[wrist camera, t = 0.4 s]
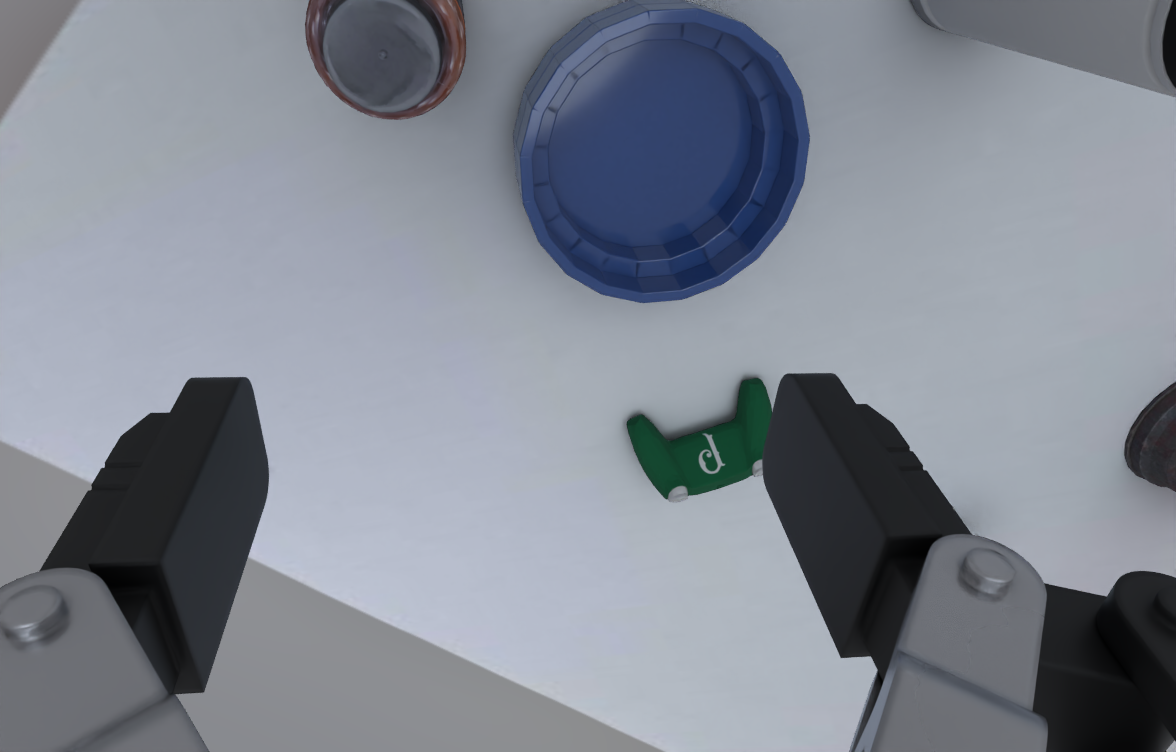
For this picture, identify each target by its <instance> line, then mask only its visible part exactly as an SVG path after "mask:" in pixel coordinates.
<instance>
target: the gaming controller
mask: <svg viewBox="0 0 1176 752" xmlns="http://www.w3.org/2000/svg"><path fill="white" fill-rule="evenodd" d="M771 416H772V408H771V404H770V400H769V397H768V393H767V390H766V387H765V386H764V384H763V382H762V380H761V379H759V378H754V379H750V380H744V381H743V382H742V383H741V387H740V390H739V396H738V404H737V413H736V416H735V418H734V419H733V420H732V421H730V422H727V423H723V424H720V425H717V426H715V427H712V428H709V429H706V430H703V431H699V432H696V433H694V434H690V435H687V436H683V437H680V438H678V439H676V440H666V439H665V438H664V437H663V436H662V434H661V433H660V432H659V431H658V429H657V428H656V427H655V426H654V425H653V423H652V422H650V421H649V420H648V419H647V418H646V417H645V416H644V415H642V414H641V415H639V416H636V417H634V418H632V419H630V420H629V421H627V428H628V433H629V436H630V439H631V442H632V445H633V448H634V451H635V453H636V456H637V458H638V460H639V462H640V464H641V466H642V468H643V470H644V472H645V473H646V475H647V476H648V478H649V479H650V481H651V482H652V484H653V485H654V486H655V488H656V489H657V490H658V491H659V492H660V493H661V495H662V496H663V497H664V498H665V499H668V500H669V502H681V501H683V500H686V499H688V496H689V495H698V494H702V493H705V492H709V491H712V490H716V489H719V488H722V487H725V486H728V485H730V484H733V483H736V482H739V481H741V480H744V479H746V478H748V477H749V476H752V475H754V477H756V476H760V475H763V470H762V456H763V449H764V445H765V441H766V437H767V433H768V428H769V424H770V420H771Z"/></svg>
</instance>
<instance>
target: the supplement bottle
mask: <svg viewBox="0 0 1176 752" xmlns="http://www.w3.org/2000/svg"><path fill="white" fill-rule="evenodd" d="M305 29H306V40H307V46H308V50H309V53H310V56H311V59H312V61H313V63H314V66H315V68H316V70H317V72H318V73H319V75H320V77H321V78H322V79H323V81H324V83H325V84H326V85H327V86H328V87H329V88H330V89H331V91H332V92H333V93H334V94H335V95H336V96H338V97H339V98H340V99H341V100H342V101H343V102H345V103H346V104H348V105H349V106H351V107H352V108H354V109H356V110H358V111H360V112H363V113H365V114H367V115H369V116H373V117H377V118H382V119H395V120H398V119H408V118H412V117H415V116H419V115H422V114H424V113H426V112H428V111H430V110H431V109H433V108H435V107H436V106H437V105H438V104H440V103H441V102H442V101H443V100H444V99H445V98H446V97H447V96H448V95H449V94H450V92H451V91H452V89H453V88H454V86H455V85H456V83H457V81H458V79H459V77H460V75H461V73H462V69H463V66H464V62H465V57H466V36H465V22H464V14H463V6H462V0H309V3H308V8H307V12H306V23H305Z"/></svg>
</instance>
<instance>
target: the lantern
mask: <svg viewBox="0 0 1176 752" xmlns="http://www.w3.org/2000/svg"><path fill="white" fill-rule="evenodd" d="M1125 458H1126V461H1127V464H1128V467H1129V468H1130V469H1131V470H1132V471H1133V472H1134V473H1135V474H1136V475H1137V476H1139V477H1141V478H1143V479H1146V480H1147V481H1149V482H1150V483H1153V484H1155V485H1157V486H1160V487H1168V488H1170V489H1172V490H1173V491H1175V492H1176V383H1175V384H1173V385H1172V386H1170V387H1169V388H1168V389H1167V390H1165V391H1164V392H1163V393H1161V394H1160V395H1159V396H1158V397H1156V398H1155V399H1154V400H1153V401H1152V402H1151V404H1150V405H1149V406H1148V407H1147V408H1146V409H1145V410H1144V411H1143V412H1142V413H1141V415H1140V416H1139V418H1138V419H1137V421H1136V422H1135V424H1134V425H1133V427H1132V429H1131V431H1130V434H1129V436H1128V439H1127V441H1126V449H1125Z"/></svg>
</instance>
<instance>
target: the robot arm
mask: <svg viewBox="0 0 1176 752" xmlns="http://www.w3.org/2000/svg"><path fill="white" fill-rule="evenodd" d="M909 448H910V447H909V445H908V444H907V442H906V441H905V440H904V438H903V437H902V435H901V434H900V432H899V431H898V430H897V428H896V427H895V425H894V424H893V423H892V422H890V421H889V420H887V419H886V418H885V417H883V416H882V415H881V414H879V413H878V412H877V411H875V410H874V409H873V408H871V407H870V406H869V405H867V404H856V403H855V402H854V400H853V399H852V397H851V396H850V394H849V393H848V391H847V390H846V388H845V387H844V385H843V384H842V382H841V381H840V379H839V378H838V377H837V376H836V375H835V374H833V373H806V374H786V375H784V376H783V378H782V379H781V381H780V384H779V387H778V391H777V395H776V399H775V404H774V408H773V412H772V416H771V420H770V424H769V428H768V433H767V437H766V441H765V445H764V449H763V456H762V470H763V478H764V483H765V486H766V489H767V492H768V494H769V496H770V498H771V501H772V503H773V505H774V508H775V510H776V512H777V514H778V517H779V519H780V521H781V523H782V526H783V528H784V530H785V532H786V535H787V537H788V539H789V541H790V544H791V546H792V548H793V551H794V553H795V555H796V557H797V560H798V562H799V564H800V566H801V569H802V571H803V573H804V575H805V578H806V580H807V582H808V584H809V587H810V589H811V591H812V594H813V596H814V598H815V600H816V603H817V605H818V607H819V609H820V612H821V614H822V616H823V618H824V621H825V623H826V625H827V627H828V630H829V632H830V634H831V637H832V639H833V641H834V643H835V646H836V648H837V650H838V652H839V655H840V657H841V658H849V657H866V656H871V657H872V659H873V661H874V663H875V665H876V668H877V673H876V675H875V677H874V680H873V682H872V684H871V687H870V690H869V693H868V696H867V699H866V702H865V705H864V708H863V711H862V714H861V717H860V720H859V723H858V726H857V729H856V732H855V735H854V738H853V741H852V744H851V747H850V750H849V752H1166V750H1167V749H1168V747H1169V746H1170V745H1171V744H1172V743H1173V741H1174V740H1175V741H1176V578H1175V577H1172V576H1168V575H1165V574H1161V573H1156V572H1149V571H1135V572H1130V573H1127V574H1125V575H1123V576H1121V577H1120V578H1119V579H1118V580H1117V581H1116V583H1115V585H1114V586H1113V588H1112V589H1111V591H1110V593H1109V594H1108V596H1107V597H1106V596H1101V595H1096V594H1091V593H1087V592H1082V591H1077V590H1072V589H1068V588H1063V587H1058V586H1054V585H1049V584H1045V583H1043V581H1042V579H1041V577H1040V575H1039V574H1038V573H1037V571H1036V570H1035V569H1034V568H1033V567H1032V566H1031V564H1030V563H1029V562H1027V561H1026V560H1025V559H1024V558H1023V557H1022V556H1020V555H1019V554H1017V553H1016V552H1014V551H1013V550H1011V549H1010V548H1008V547H1006V546H1004V545H1002V544H1000V543H998V542H995V541H993V540H990V539H987V538H984V537H980V536H975V535H972V534H971V533H970V531H969V530H968V528H967V527H966V526H965V524H964V523H963V521H962V520H961V519H960V517H959V516H958V514H957V513H956V511H955V510H954V509H953V507H952V506H951V504H950V503H949V502H948V500H947V499H946V497H945V496H944V495H943V493H942V492H941V490H940V489H939V487H938V486H937V485H936V483H935V482H934V480H933V479H932V478H931V476H930V475H929V473H928V472H927V471H923V465H922V464H921V462H920V461H919V459H918V458H917V456H916V455H915V454H914V452H913V451H910V450H909ZM268 484H269V468H268V459H267V454H266V449H265V444H264V440H263V435H262V430H261V425H260V420H259V416H258V411H257V406H256V401H255V396H254V392H253V388H252V385H251V383H250V381H249V379H248V378H246V377H210V378H190V379H189V380H188V381H187V382H186V384H185V386H184V388H183V389H182V391H181V393H180V395H179V397H178V399H177V401H176V402H175V404H174V406H173V408H172V410H171V412H170V413H150V414H149V415H147V416H146V417H145V418H143V419H142V420H141V421H140V422H138V423H137V424H136V425H134V426H133V427H132V428H131V429H129V430H128V431H127V432H126V433H124V434H123V435H122V436H121V437H120V438H119V440H118V442H117V443H116V445H115V447H114V448H113V450H112V452H111V453H110V455H109V457H108V458H107V460H106V462H105V468H101V470H100V472H99V473H98V475H97V477H96V478H95V480H94V482H93V483H92V490H90V491H88V492H87V493H86V495H85V496H84V498H83V500H82V501H81V503H80V505H79V506H78V508H77V510H76V512H75V513H74V515H73V516H72V518H71V520H70V521H69V523H68V525H67V526H66V528H65V530H64V531H63V533H62V535H61V536H60V538H59V540H58V541H57V543H56V545H55V546H54V548H53V550H52V551H51V553H50V554H49V556H48V558H47V559H46V562H45V563H44V564H43V566H42V568H41V570H40V571H39V572H36V573H32V574H29V575H26V576H24V577H21V578H18V579H16V580H14V581H12V582H10V583H8V584H6V585H4V586H2V587H1V588H0V752H209V750H208V748H207V747H206V745H205V743H204V741H203V740H202V738H201V736H200V735H199V733H198V731H197V729H196V728H195V726H194V724H193V722H192V721H191V719H190V717H189V716H188V714H187V712H186V710H185V709H184V707H183V705H182V704H181V702H180V701H179V699H178V698H177V696H176V695H175V694H185V693H202V692H204V691H205V688H206V684H207V681H208V678H209V675H210V672H211V669H212V666H213V663H214V660H215V657H216V654H217V650H218V648H219V644H220V641H221V638H222V635H223V632H224V629H225V626H226V623H227V620H228V617H229V614H230V610H231V607H232V604H233V601H234V598H235V595H236V592H237V589H238V586H239V583H240V580H241V577H242V573H243V570H244V567H245V564H246V561H247V558H248V555H249V552H250V549H251V546H252V543H253V540H254V537H255V533H256V530H257V527H258V524H259V521H260V518H261V515H262V512H263V509H264V506H265V502H266V498H267V493H268Z"/></svg>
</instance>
